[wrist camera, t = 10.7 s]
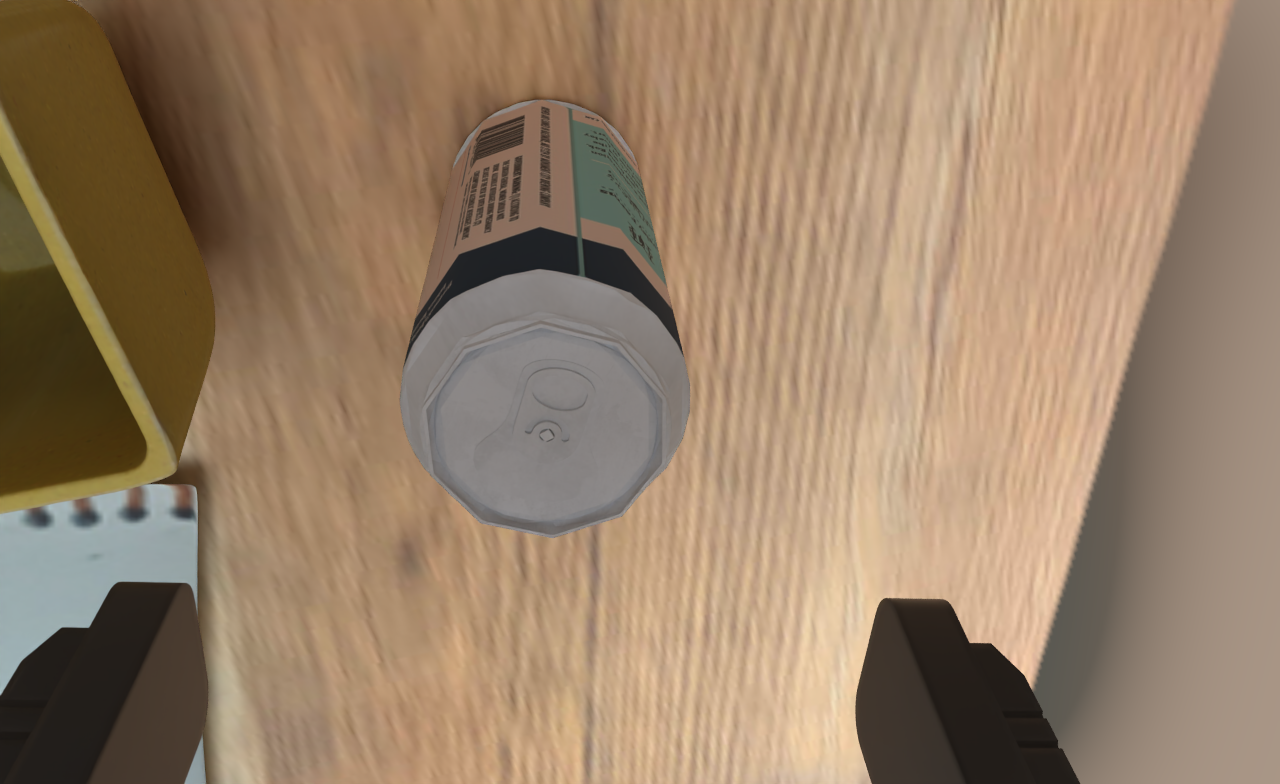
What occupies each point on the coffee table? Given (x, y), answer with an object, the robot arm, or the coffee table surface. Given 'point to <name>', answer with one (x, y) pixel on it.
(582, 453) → the beer can
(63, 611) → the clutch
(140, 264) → the flower pot
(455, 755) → the coffee table surface
